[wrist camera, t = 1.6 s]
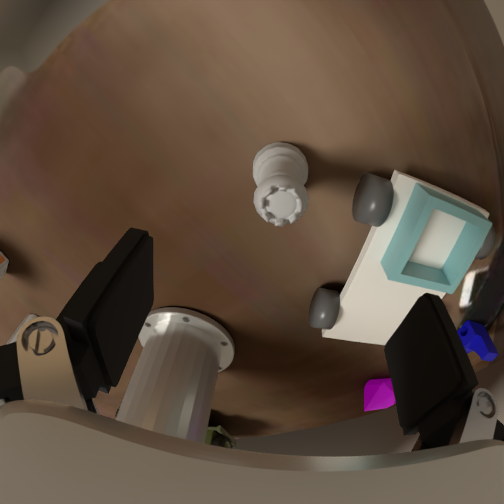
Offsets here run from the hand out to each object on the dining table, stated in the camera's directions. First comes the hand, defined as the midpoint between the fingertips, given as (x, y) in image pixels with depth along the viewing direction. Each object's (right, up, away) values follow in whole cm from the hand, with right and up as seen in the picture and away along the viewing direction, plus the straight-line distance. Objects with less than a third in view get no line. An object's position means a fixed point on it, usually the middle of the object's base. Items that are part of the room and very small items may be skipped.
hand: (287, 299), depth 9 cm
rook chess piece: (+1, +8, +14) cm, 16 cm away
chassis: (+14, 0, +17) cm, 22 cm away
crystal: (+19, -18, +30) cm, 40 cm away
